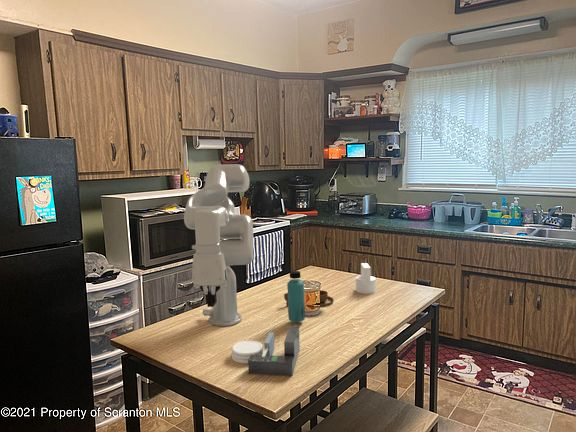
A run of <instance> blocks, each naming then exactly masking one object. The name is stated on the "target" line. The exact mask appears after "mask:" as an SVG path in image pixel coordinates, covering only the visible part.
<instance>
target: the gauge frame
mask: <svg viewBox="0 0 576 432" xmlns="http://www.w3.org/2000/svg"><path fill="white" fill-rule="evenodd" d="M300 344H301V343H300V325H299V326H296V325H295V326H293V325H290V326H289V328H288V330H287V333H286V335H285V338H284V341H283V347H284V348H283V349H284V350H283V351H284V355H272V356H270V355H266V356H265V358H262V355H251V356H250V358H249V360H248V363H247V369H248V374H249V375H265V376H285V377H287V376H288V377H293V375H294V372H295V368H296V365H297V361H298V357H299V353H300V351H301V350H300V346H301V345H300Z"/></svg>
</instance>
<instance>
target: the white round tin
mask: <svg viewBox="0 0 576 432" xmlns="http://www.w3.org/2000/svg"><path fill="white" fill-rule="evenodd" d="M263 349H264V346H263V344H262V343H261V342H259V341H257V340H244V341H238V342H236V343H235V344H233V345H232V346H231V358H232V360H233V361H234V362H236V363H238V364H248V360H249V358H250V356H251V355H263V353H264V350H263Z"/></svg>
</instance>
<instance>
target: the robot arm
mask: <svg viewBox="0 0 576 432" xmlns="http://www.w3.org/2000/svg"><path fill="white" fill-rule="evenodd" d="M203 186H204V187H203V188H201V189H199V190H198V191H196V192H194V193H193V194H192V195H190V197H189V198H188V200H187V202H186V206H185V208H184V212H183V222H184V225H185V227H186V228H187V229H190V230H194V231H195V234H194V235H195V244H192V245H191V249H192V250H194V251H195V252H194V253H193V256H192V257H193V258H192V268H191V269H192V273H191V274H192V275H191V278H192V279H191V280H192V284H193V287H194V288H196V289H200V290H201V291H202V292H203V294H204V295H205V304H207V305H206V306H207V307H208V308H210V307H211V308H210V309H208V308H203V309H202V314H203V316H204V317H205V316H206V317H207V316H209V318H208V323H209V324H210V325H213V326H215V327H228V326H232V325H236V324H238V323H240V322H241V321H242V319H243V317H242V316H243V315H241V313H239V312H238V301H237V300H238V297H237V296H238V295H237V294H238V293H237V278H236V274H235V272H234V270H233V269H232V268H231V266H245V265H250V264H252V262H253V260H254V224H253V219H252V217H251V216H249V215H248V214H235V204H234V203H233V200H232V199H231V198H229V196H228V194H229V193H245V192H247V191H248V190H249V187H250V176H249V173H248V171H247V169H246V168H245V166H244V165H242V164H239V163H237V164H236V163H235V164H233V163H231V164H215V165H212V166H210V167H209V169H208V170H207V172H206V176H205V183H204V185H203Z"/></svg>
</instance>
